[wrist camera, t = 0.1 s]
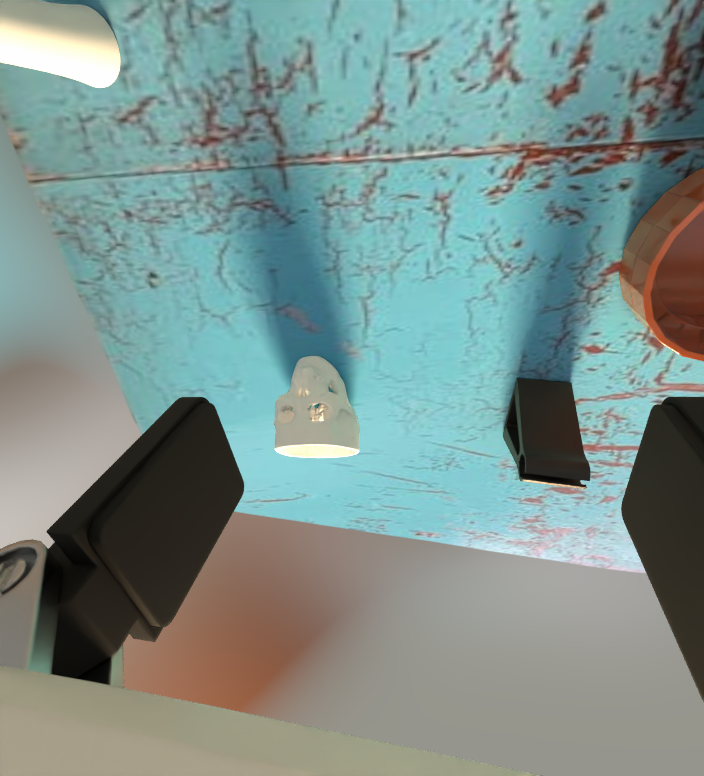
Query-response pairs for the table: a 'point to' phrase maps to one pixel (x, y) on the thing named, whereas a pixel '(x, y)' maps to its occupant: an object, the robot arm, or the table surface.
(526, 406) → the door stopper
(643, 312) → the bowl
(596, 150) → the table surface
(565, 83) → the table surface
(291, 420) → the skull bowl
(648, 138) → the table surface
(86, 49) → the cosmetic bottle
